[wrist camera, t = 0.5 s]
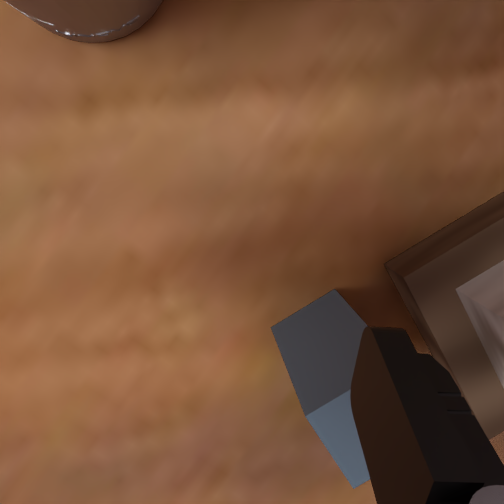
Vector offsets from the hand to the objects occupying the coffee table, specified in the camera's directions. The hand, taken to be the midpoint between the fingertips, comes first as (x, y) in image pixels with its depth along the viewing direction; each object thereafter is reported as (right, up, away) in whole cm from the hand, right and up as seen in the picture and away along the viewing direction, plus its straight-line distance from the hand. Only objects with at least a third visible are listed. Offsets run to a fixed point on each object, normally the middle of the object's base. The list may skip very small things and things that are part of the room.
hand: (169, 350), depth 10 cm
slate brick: (+6, -4, +22) cm, 23 cm away
